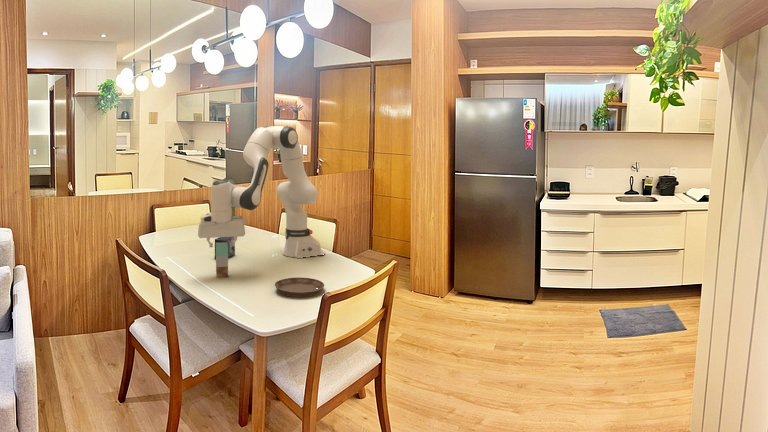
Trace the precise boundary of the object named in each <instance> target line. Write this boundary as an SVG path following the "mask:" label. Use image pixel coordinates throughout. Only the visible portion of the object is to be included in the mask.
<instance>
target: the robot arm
mask: <svg viewBox="0 0 768 432" xmlns="http://www.w3.org/2000/svg"><path fill="white" fill-rule="evenodd" d="M271 149H279V156H280V161H281V167H282V173H283V175H284V176H285V177H286V178H287V179H288V181H283V182H280V183H279V184H278V186H277V188H276V195H277V197H278V198H279V200H280V201H281V203H282V204H283V205H282V206H283V207H284V210H285V211H284V212H285V216H286V217H285V219H286V220H285V221H286V224H285V225H286V227H285V231H284V236H285V237H284V238H285V245H284V248H283V249H284V250H283V252H282V254H283V256H286V257H291V258H296V259H303V257H306V258H311V257H310V256H316V257H318V256H317V255H323V254H325V255H326V251H325V250H324V249H322V246H321V243H320V242H319V240H317V238H315V237H314V236H313V235H312V234H313V233H314V232H313V230H312V229H310V228H308V213H307V212H306V211H305V209H304V207H303V205H312V204H314V203H315V202H317V199H318V196H319V191H318V188H317V187H316V186H315V185H314V184H313V183H312V182H311V180H310V178H309V177H308V175H307V173H306V170H305V165H304V160H303V154H302V149H301V145H300V142H299V136H298V133H297V131H296V129H295V128H294V127H291V126H288V125H287V126H284V125H273V126H261V127H257V128H255V130H254V131H253V132H252V134H251V135H250V137H249V138H248V139H247V142H246V144H245V147H244V148H243V153H242V156H243V160H244V161H245V163H247V164H248V166H250V167H251V168H253V169H254V170H253V175H252V179H251V181H250V182H251V183H250V184H249V186H239V185H236V184H235V185H233V184H231V183H230V182H229V180H223V179H218V180H215V181H213V182H212V184H211V186H210V203H211V208H210V212H208V213H205V214H202V215H201V216H200V222H199V224H198V229H197V236H198V237H199V239H206V242H207V243H208V245H209V248H214V242H211V238H212V239H213V238H215V239H217V238H219V237H234V241H233V242H231V246H235V247H236V242H237V240H238V238H239V237H244V236H245V235H246V229H245V228H246V227H245V225H246V224H247V223H246V217H244V216H242V215H237V216H236V215H235V216H232V208H231V207H232V206H233V207H235V208H238V209H239V208H240V209H244V210H248V211H254V210H255V209H257V208H258V206H259V205H260V204H261V201H262V195H263V194H262V193H263V188H264V185H265V182H266V178H267V174H268V171H269V161H268V156H269V155H270V154H269V153H270V151H271Z"/></svg>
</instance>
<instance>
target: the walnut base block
mask: <svg viewBox="0 0 768 432" xmlns="http://www.w3.org/2000/svg"><path fill="white" fill-rule="evenodd" d="M215 272H216V273H215V275H216V278H217V279H218V278H219V279H221V278H229V266H228V267H216V266H215Z"/></svg>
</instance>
